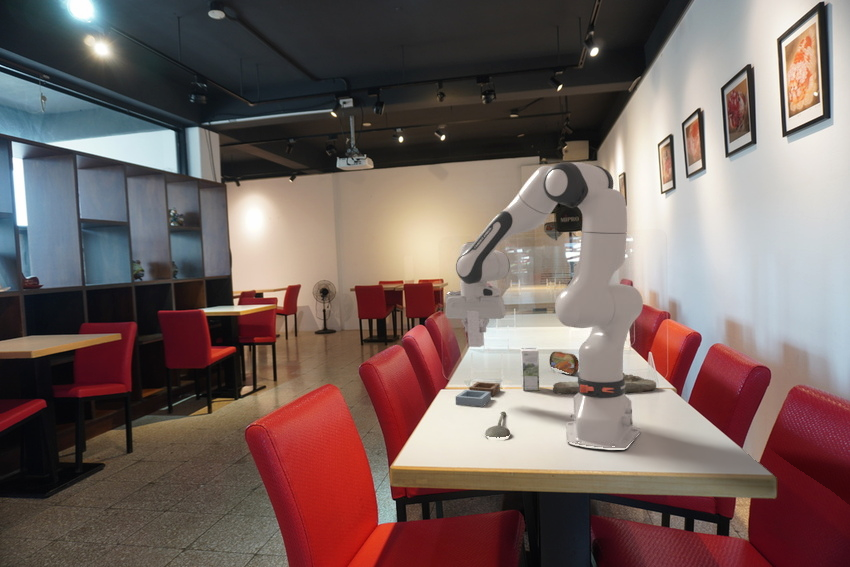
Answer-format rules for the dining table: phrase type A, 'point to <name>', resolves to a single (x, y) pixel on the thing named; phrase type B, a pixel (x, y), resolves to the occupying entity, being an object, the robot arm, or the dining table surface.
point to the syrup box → (530, 369)
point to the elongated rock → (630, 385)
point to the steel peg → (475, 329)
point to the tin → (564, 362)
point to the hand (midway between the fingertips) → (475, 332)
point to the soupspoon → (498, 429)
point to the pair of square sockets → (478, 394)
